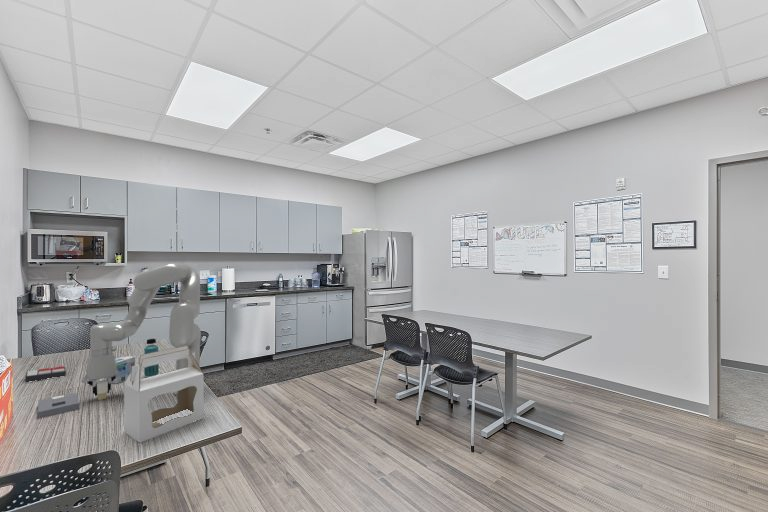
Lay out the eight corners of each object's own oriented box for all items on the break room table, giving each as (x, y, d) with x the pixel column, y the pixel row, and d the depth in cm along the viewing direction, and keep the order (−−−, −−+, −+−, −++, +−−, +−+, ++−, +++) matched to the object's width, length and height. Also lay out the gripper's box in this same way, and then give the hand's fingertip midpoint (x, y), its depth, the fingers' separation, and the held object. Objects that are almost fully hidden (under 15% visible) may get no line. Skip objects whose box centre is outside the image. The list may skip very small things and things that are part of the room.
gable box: (138, 443, 117) (138, 360, 117) (123, 432, 124) (122, 354, 124) (204, 418, 135) (204, 346, 135) (187, 410, 142) (187, 341, 143)
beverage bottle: (147, 380, 178) (147, 341, 178) (141, 378, 181) (141, 339, 181) (161, 376, 183) (161, 338, 183) (155, 374, 187) (155, 337, 187)
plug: (107, 398, 154) (107, 382, 154) (97, 401, 152) (97, 384, 152) (106, 396, 158) (106, 379, 158) (96, 398, 155) (96, 381, 155)
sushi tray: (65, 369, 186) (25, 375, 175) (65, 378, 185) (24, 383, 175) (65, 365, 193) (26, 370, 183) (64, 373, 193) (26, 378, 183)
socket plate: (78, 409, 144) (78, 401, 144) (38, 418, 136) (38, 410, 136) (76, 398, 156) (76, 390, 156) (38, 406, 147) (38, 398, 147)
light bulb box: (116, 384, 173) (116, 362, 173) (105, 383, 174) (105, 361, 174) (135, 376, 183) (135, 356, 183) (125, 376, 185) (125, 355, 185)
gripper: (123, 347, 163) (123, 386, 163) (76, 354, 152) (76, 396, 152) (125, 350, 158) (126, 390, 158) (77, 357, 146) (77, 401, 146)
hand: (101, 393), depth 155 cm, fingers closed on plug, 3 cm apart
